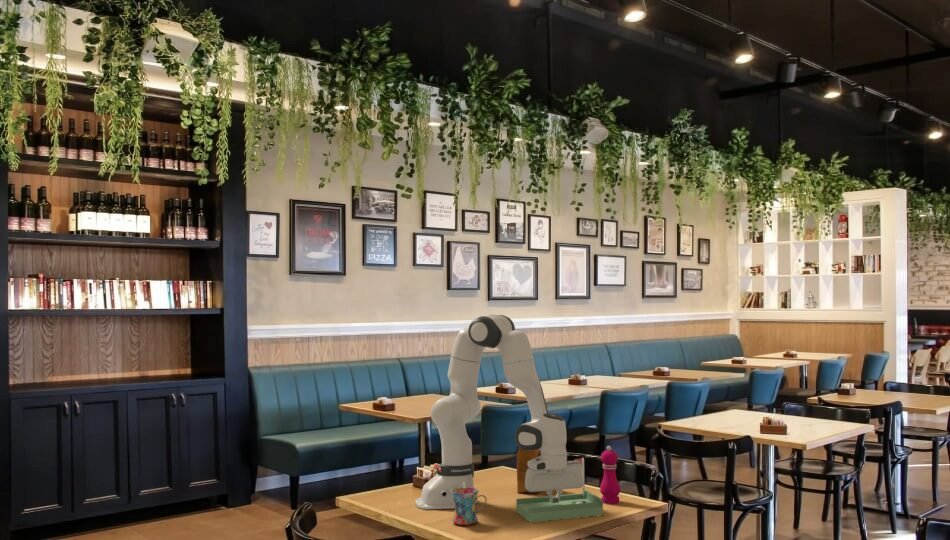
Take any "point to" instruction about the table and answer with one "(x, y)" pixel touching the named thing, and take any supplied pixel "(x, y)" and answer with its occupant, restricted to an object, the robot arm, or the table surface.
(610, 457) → the pepper mill
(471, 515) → the mug
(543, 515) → the green
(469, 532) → the table surface
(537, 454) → the coffee package
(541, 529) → the table surface
